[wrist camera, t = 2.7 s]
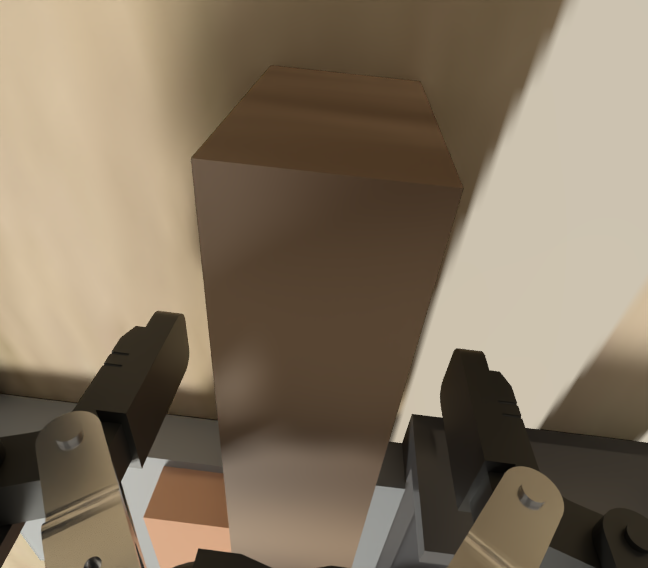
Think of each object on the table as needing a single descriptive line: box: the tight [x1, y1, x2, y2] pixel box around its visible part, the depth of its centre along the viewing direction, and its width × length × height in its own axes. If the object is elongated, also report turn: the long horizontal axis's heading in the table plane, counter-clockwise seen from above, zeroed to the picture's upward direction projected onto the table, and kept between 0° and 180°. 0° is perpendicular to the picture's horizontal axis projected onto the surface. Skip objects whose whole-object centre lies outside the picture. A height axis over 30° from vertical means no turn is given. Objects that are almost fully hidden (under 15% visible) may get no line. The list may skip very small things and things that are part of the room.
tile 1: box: [143, 466, 232, 568], centre depth 18 cm, size 5×5×2 cm
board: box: [0, 394, 405, 568], centre depth 22 cm, size 12×18×2 cm, turn 85°
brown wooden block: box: [191, 65, 463, 568], centre depth 12 cm, size 14×4×6 cm, turn 175°
